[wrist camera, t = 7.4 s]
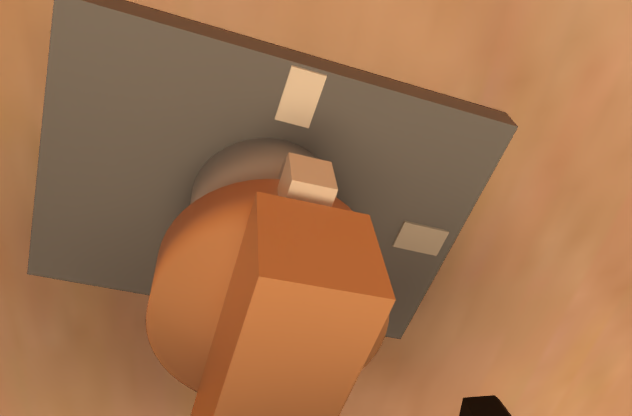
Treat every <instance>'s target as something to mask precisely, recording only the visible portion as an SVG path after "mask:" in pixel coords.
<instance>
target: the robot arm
mask: <svg viewBox="0 0 632 416" xmlns="http://www.w3.org/2000/svg"><path fill="white" fill-rule="evenodd" d="M459 416H511V414H510V413H509V412H508V410H507V409H506V408H505V406H504V405H503V404H502V402H501V401H500V400H499V399H498V398H497V397H496V396H495V395H493V396H480V397H467V398H463V401H462V405H461V410H460V414H459Z"/></svg>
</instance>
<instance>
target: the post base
mask: <svg viewBox="0 0 632 416" xmlns="http://www.w3.org/2000/svg"><path fill="white" fill-rule="evenodd" d="M517 128H518V126H517V125H516V124H515V123H514V122H513V120H512V119H511V118H510V117H509V116H508V115H507V114H506V113H505V112H501V111H498V110H495V109H491V108H488V107H484V106H481V105H478V104H474V103H471V102H467V101H464V100H461V99H457V98H454V97H450V96H447V95H444V94H440V93H437V92H434V91H430V90H427V89H423V88H420V87H417V86H413V85H410V84H406V83H403V82H400V81H396V80H393V79H389V78H386V77H383V76H379V75H376V74H373V73H369V72H366V71H362V70H359V69H356V68H352V67H349V66H345V65H342V64H339V63H335V62H332V61H328V60H325V59H322V58H318V57H315V56H311V55H308V54H305V53H301V52H298V51H295V50H291V49H288V48H284V47H281V46H278V45H274V44H271V43H267V42H264V41H261V40H257V39H254V38H250V37H247V36H244V35H240V34H237V33H234V32H230V31H227V30H223V29H220V28H217V27H213V26H210V25H206V24H203V23H200V22H196V21H193V20H189V19H186V18H183V17H179V16H176V15H173V14H169V13H166V12H162V11H159V10H156V9H152V8H149V7H145V6H142V5H139V4H135V3H132V2H128V1H125V0H54V6H53V16H52V26H51V36H50V46H49V57H48V67H47V77H46V87H45V97H44V108H43V118H42V128H41V138H40V148H39V159H38V169H37V179H36V189H35V199H34V210H33V220H32V230H31V240H30V250H29V261H28V271H27V274H30V275H36V276H41V277H47V278H53V279H59V280H64V281H70V282H76V283H81V284H87V285H93V286H99V287H104V288H110V289H116V290H122V291H127V292H133V293H139V294H145V295H150V292H151V287H152V282H153V277H154V272H155V267H156V262H157V257H158V252H159V249H160V245H161V242H162V240H163V238H164V236H165V234H166V231H167V230H168V228H169V227H170V225H171V224H172V223H173V221H174V220H175V219H176V218H177V216H178V215H179V214H180V213H181V212H182V211H183V210H184V209H185V208H187V207H188V206H189V205H190V204H192V203H193V202H194V201H196V200H197V199H199V198H201V197H202V196H204V195H206V194H207V193H210V192H212V191H214V190H216V189H218V188H221V187H224V186H227V185H230V184H233V183H237V182H243V181H248V180H256V179H280V178H281V175H282V172H283V169H284V165H285V162H286V159H287V156H288V153H289V152H290V153H294V154H299V155H303V156H307V157H312V158H316V159H321V160H325V161H330V162H332V166H333V170H334V174H335V179H336V183H337V187H338V192H337V195H336V197H337V198H338V199H339V200H341V201H342V202H343V203H345V204H346V205H347V206H349V208H350V209H351V210H352V211H354V212H358V213H363V214H368V215H370V218H371V221H372V224H373V227H374V231H375V234H376V237H377V240H378V244H379V247H380V250H381V253H382V257H383V260H384V263H385V266H386V270H387V273H388V276H389V279H390V282H391V286H392V289H393V292H394V295H395V299H396V301H395V303H394V305H393V307H392V309H391V311H390V313H389V323H388V328H387V332H386V335H385V337H391V338H397V339H401V337H402V335H403V334H404V332H405V330H406V328H407V326H408V325H409V323H410V321H411V319H412V317H413V316H414V314H415V312H416V310H417V308H418V307H419V305H420V303H421V301H422V299H423V297H424V296H425V294H426V292H427V290H428V288H429V287H430V285H431V283H432V281H433V279H434V278H435V276H436V274H437V272H438V270H439V269H440V267H441V265H442V263H443V261H444V260H445V258H446V256H447V254H448V252H449V251H450V249H451V247H452V245H453V243H454V242H455V240H456V238H457V236H458V234H459V233H460V231H461V229H462V227H463V225H464V224H465V222H466V220H467V218H468V216H469V215H470V213H471V211H472V209H473V207H474V205H475V204H476V202H477V200H478V198H479V196H480V195H481V193H482V191H483V189H484V187H485V186H486V184H487V182H488V180H489V178H490V177H491V175H492V173H493V171H494V169H495V168H496V166H497V164H498V162H499V160H500V159H501V157H502V155H503V153H504V151H505V150H506V148H507V146H508V144H509V142H510V141H511V139H512V137H513V135H514V133H515V132H516V130H517Z"/></svg>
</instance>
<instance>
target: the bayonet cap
mask: <svg viewBox="0 0 632 416" xmlns="http://www.w3.org/2000/svg"><path fill="white" fill-rule="evenodd" d="M337 192H338V187H337V183H336V179H335V174H334V170H333V166H332V162H330V161H325V160H321V159H316V158H312V157H307V156H303V155H299V154H294V153H290V152H289V153H288V156H287V159H286V162H285V165H284V169H283V172H282V175H281V178H280V179H256V180H248V181H243V182H237V183H233V184H230V185H227V186H224V187H221V188H218V189H216V190H214V191H212V192H210V193H207V194H206V195H204V196H202V197H201V198H199V199H197V200H196V201H194V202H193V203H192V204H190V205H189V206H188V207H187V208H185V209H184V210H183V211H182V212H181V213H180V214H179V215H178V216H177V218H176V219H175V220H174V221H173V223H172V224H171V225H170V227H169V228H168V230H167V231H166V234H165V236H164V238H163V240H162V242H161V245H160V249H159V252H158V257H157V262H156V267H155V272H154V277H153V282H152V287H151V292H150V297H149V302H148V306H147V314H146V330H147V335H148V339H149V343H150V345H151V348H152V350H153V352H154V354H155V356H156V357H157V359H158V360H159V362H160V363H161V364H162V366H163V367H164V368H165V369H166V370H167V371H168V372H169V373H170V374H171V375H172V376H173V377H175V378H176V379H177V380H178V381H180V382H181V383H183V384H184V385H186V386H187V387H189V388H190V389H193V390H195V391H197V396H196V399H195V402H194V406H193V409H192V413H191V416H339V415H340V413H341V411H342V409H343V406H344V404H345V402H346V400H347V398H348V396H349V394H350V392H351V390H352V388H353V386H354V384H355V382H356V380H357V378H358V376H359V374H360V372H361V370H362V369H363V368H364V367H365V366H366V365H367V364H368V363H369V362H370V361H371V359H372V358H373V357H374V356H375V354H376V353H377V351H378V349H379V348H380V346H381V344H382V342H383V340H384V337H385V335H386V332H387V328H388V323H389V313H390V311H391V309H392V307H393V305H394V303H395V301H396V299H395V295H394V292H393V289H392V286H391V282H390V279H389V276H388V273H387V270H386V266H385V263H384V260H383V257H382V253H381V250H380V247H379V244H378V240H377V237H376V234H375V231H374V227H373V224H372V221H371V218H370V215H368V214H363V213H358V212H354V211H352V210H351V209H350V208H349V206H347V205H346V204H345V203H343V202H342V201H341V200H339V199H338V198H337V197H336V195H337Z"/></svg>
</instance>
